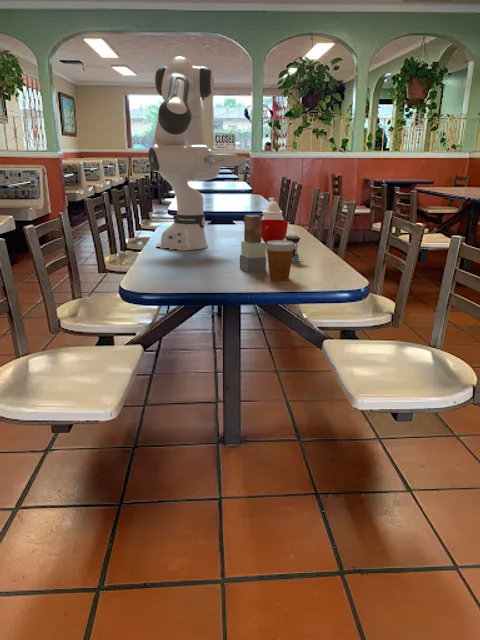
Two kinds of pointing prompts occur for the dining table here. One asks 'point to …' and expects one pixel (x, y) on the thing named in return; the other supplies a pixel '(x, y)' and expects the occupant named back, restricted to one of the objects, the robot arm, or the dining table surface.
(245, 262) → the tower base block
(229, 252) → the dining table surface
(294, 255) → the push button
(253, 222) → the walnut post
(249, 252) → the tower top block
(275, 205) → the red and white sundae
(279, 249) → the disposable coffee cup
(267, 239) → the ceramic cup
